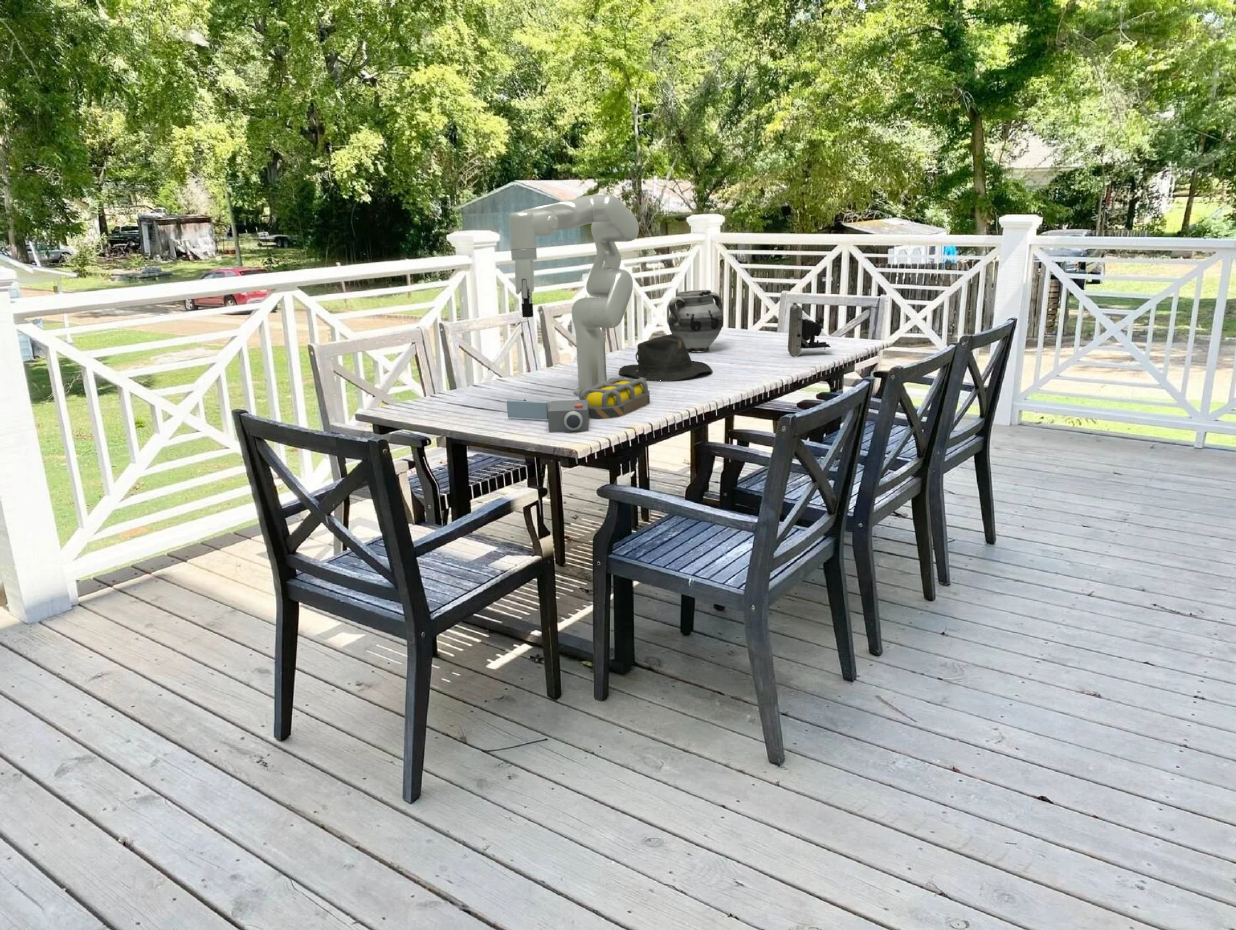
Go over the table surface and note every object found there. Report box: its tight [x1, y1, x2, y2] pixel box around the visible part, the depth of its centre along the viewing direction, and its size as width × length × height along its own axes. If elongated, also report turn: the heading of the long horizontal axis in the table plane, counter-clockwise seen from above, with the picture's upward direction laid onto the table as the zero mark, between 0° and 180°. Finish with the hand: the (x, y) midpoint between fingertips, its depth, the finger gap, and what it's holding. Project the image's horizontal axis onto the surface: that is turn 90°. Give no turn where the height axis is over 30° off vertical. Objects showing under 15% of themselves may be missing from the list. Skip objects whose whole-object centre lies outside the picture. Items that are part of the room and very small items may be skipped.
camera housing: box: [547, 399, 590, 433], centre depth 266 cm, size 16×11×7 cm
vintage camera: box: [787, 303, 831, 357], centre depth 366 cm, size 10×16×20 cm, turn 89°
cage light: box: [578, 375, 651, 420], centre depth 286 cm, size 15×8×30 cm
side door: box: [506, 399, 551, 421], centre depth 276 cm, size 14×1×5 cm, turn 68°
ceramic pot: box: [667, 289, 724, 352], centre depth 384 cm, size 29×23×25 cm
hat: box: [618, 333, 713, 383], centre depth 340 cm, size 32×35×14 cm
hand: (528, 316), depth 281 cm, fingers closed
